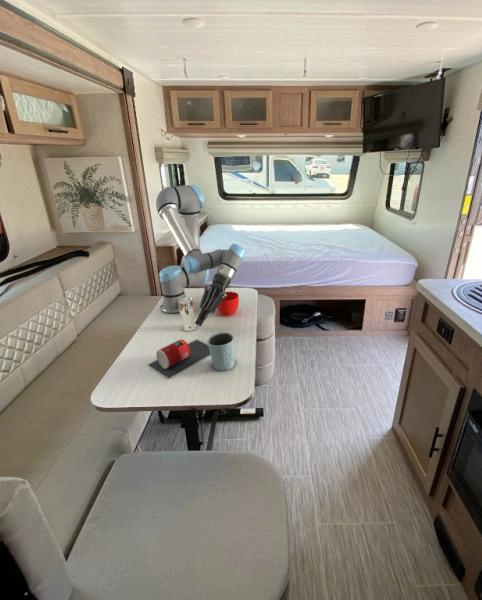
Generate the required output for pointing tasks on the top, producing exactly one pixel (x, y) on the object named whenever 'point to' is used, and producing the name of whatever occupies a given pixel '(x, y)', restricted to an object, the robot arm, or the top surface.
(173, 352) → the canned food
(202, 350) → the mat
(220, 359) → the pale teal tumbler
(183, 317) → the beer glass
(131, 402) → the top surface
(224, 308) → the ceramic cup
